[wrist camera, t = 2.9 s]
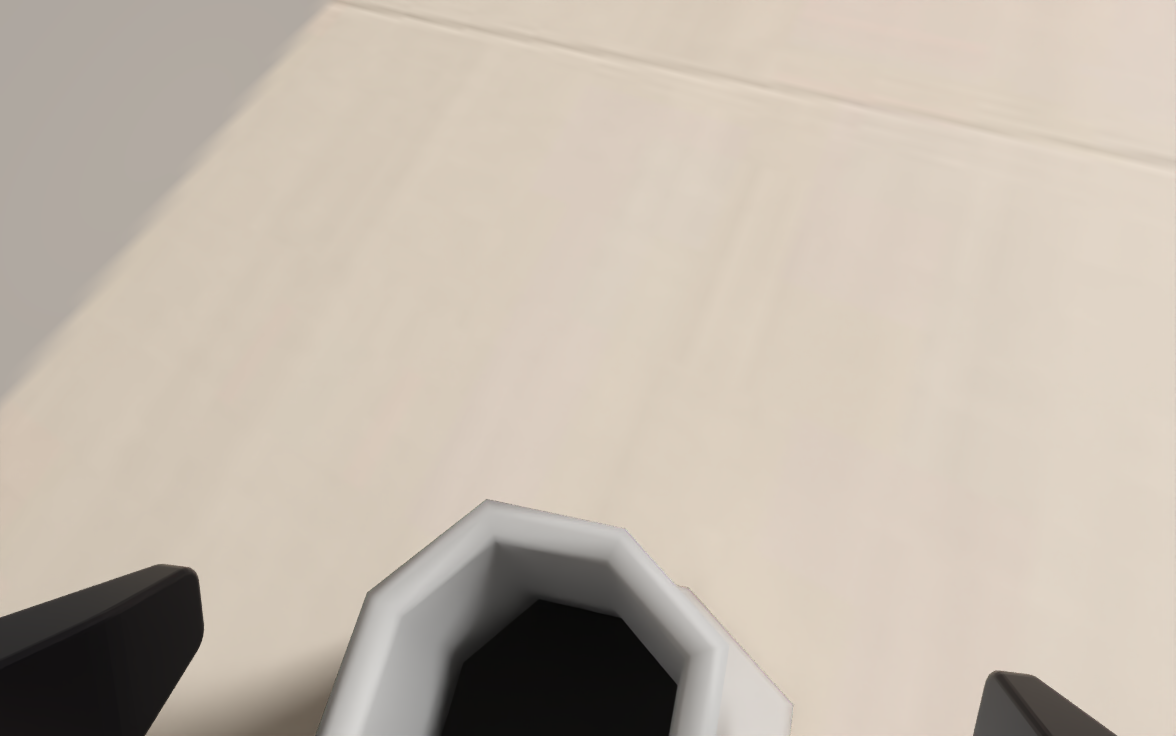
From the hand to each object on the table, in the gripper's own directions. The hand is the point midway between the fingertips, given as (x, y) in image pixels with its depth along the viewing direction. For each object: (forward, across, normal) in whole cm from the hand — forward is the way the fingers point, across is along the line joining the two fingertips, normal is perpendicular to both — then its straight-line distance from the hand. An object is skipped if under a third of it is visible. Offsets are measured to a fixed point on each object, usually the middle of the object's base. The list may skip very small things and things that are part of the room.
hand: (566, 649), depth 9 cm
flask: (+5, 0, +6) cm, 8 cm away
